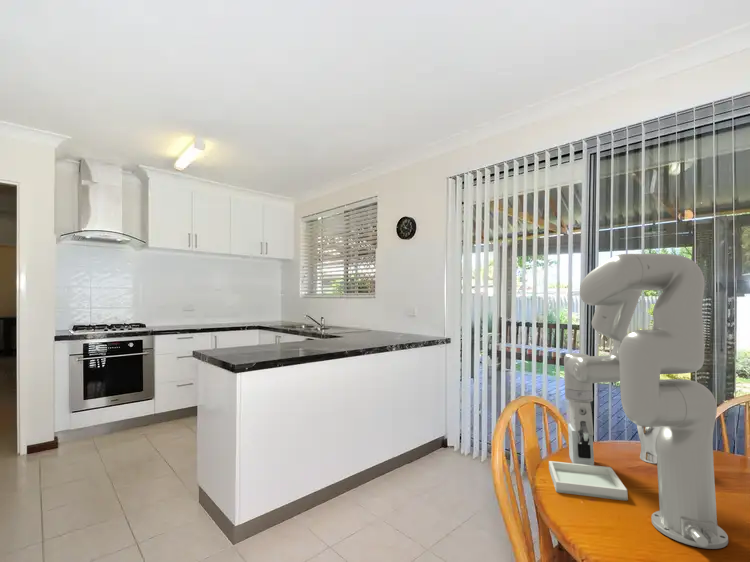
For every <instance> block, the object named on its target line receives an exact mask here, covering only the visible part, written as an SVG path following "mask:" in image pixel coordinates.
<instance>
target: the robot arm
mask: <svg viewBox="0 0 750 562" xmlns="http://www.w3.org/2000/svg"><path fill="white" fill-rule="evenodd" d="M642 291H661V293H660V295H659V296H658V298H657V299H656V301H655V304H654V306H653V311H652V317H653V325H652V326H653V327H652V329H638V330H634V331H631V332H629V333H627V332H628V328H629V326H630V324H631V321H632V318H633V316H634V313H635V310H636V307H637V305H638V303H639V300H640V297H641V294H642ZM704 295H705V277H704V274H703V271H702V269H701V268H700V266H699V265H698V264H697V263H696V262H695V261H694V260H693V259H690V258H689V257H687V256H683V255H680V254H672V253H671V254H670V253H621V254H618V255H613V256H612V257H610V258H608V259H607V260H606V261H604V262H603V263H600V265H598V266H597V267H596V268H594V269H592V270H591V271H590V272H588V274H587V275H586V276H585V277H584V278H583V279H582V281H581V284H580V286H579V296H580V298H581V301H582V302H583V303H584V304H586V305H588V306H596V307H595V311H594V314H593V316H592V320H591V326H592V328H593V330H595V331H596V332H597V333H599V334H600V335H602V336H604V337H607V338H609V339H612V340H613V341H614V343H613V347H612V350H611V353H610V354H609V355H597V356H596V355H594V356H593V355H592V356H591V355H588V354H587V353H580V352H578V353H577V352H571V353H570V352H569V353H566V354H565V355H564V357H563V367H564V368H563V373H564V397H565V399H566V400H567V401H569V402H568V405H569V406H568V407H569V408H568V409H569V411H568V412H569V423H570V424H571V426H572V428H573V429H574V431H575V434H576V435H578V440H579V443H578V456H579V458H588V459H590V458H591V450H590V440H589V435H591V436H594V424H593V413H592V412H593V411H592V405H591V402H593V401H594V397H593V396H594V394H593V384H599V383H617V382H618V383H619V389H620V400H621V406H622V409H623V412H624V414H625V415H626V418H628V420H630V421H631V423H633V424H634V425H636V426H637V425H639V426H643V427H660V430H659V432H658V435H657V441H656V448H657V464H656V466H657V468H656V469H657V483H658V484H657V487H658V503H659V506H658V507H659V510H656V511H655V512H653V513H652V514H651V517H650V518H651V524H652V525H653V526H654V528H655V529H656V530H657V531H659V533H661V534H663V535H664V536H666V537H668V538H670V539H673V540H675V541H677V542H679V543H682V544H684V545H687V546H691V547H697V548H700V549H706V550H708V549H709V550H711V549H712V550H718V549H722V548H725V547H726V546H727V547H728V544H729V536H728V534H727V532H726V531H725V530H724V529H723V528H722V527H720V526H719V525H718V520H717V518H718V516H717V514H718V513H717V501H716V499H717V498H716V486H715V483H716V482H715V468H714V467H715V466H714V465H715V464H714V448H713V447H714V443H713V442H714V439H713V438H714V429H715V423H716V418H717V412H718V411H717V410H718V408H717V402H716V399H715V396H714V395H713V393H712V391H711V390H710V389H708V388H707V387H706V386H705V385H703V384H702V383H700V382H698V381H696V380H691V379H684V378H682V379H681V378H676V379H675V378H671V379H670V378H669V379H660V377H661V375H677V374H678V375H679V374H680V375H682V374H683V375H684V374H691V373H694V372H695V373H696V372H697V371H699V370H700V369H702V367H703V365H704V362H705V337H704V319H703V303H704V302H703V301H704ZM580 425H581V427H580ZM579 431H582V432H583V433H579ZM581 436H583V437H582V438H581Z"/></svg>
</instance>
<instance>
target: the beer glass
mask: <svg viewBox="0 0 750 562" xmlns="http://www.w3.org/2000/svg"><path fill="white" fill-rule="evenodd" d="M636 427H637V428H636V429H637V433H638V437H639V442H640V452H639V453H640V455H639V459H640V460H641V461H643V462H646V463H649V464H652V465H653V464H654V465H657V448H656V441H657V435H658V432H659V430H660V427H643V426H639V425H637V424H636Z"/></svg>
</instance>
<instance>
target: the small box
mask: <svg viewBox="0 0 750 562" xmlns="http://www.w3.org/2000/svg"><path fill="white" fill-rule="evenodd" d="M580 427H581V425H580ZM567 431H568V432H567V433H568V448H569V449H568V454H569V458H570V460H571V461H570V462H571V463H574V464H584V465H594V466H595V456H594V455H595V454H594V437H593V436H594V435H593V436H591V435H589V440H590V450H591V458H590V459H588V458H579V456H578V443H579V440H578V435H576V434H575V431H574V429H573V428H572V426H571V424H570V422H569V423H567ZM579 433H583V432H582V431H579ZM582 437H583V436H581V438H582Z"/></svg>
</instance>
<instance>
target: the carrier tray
mask: <svg viewBox="0 0 750 562" xmlns="http://www.w3.org/2000/svg"><path fill="white" fill-rule="evenodd" d="M548 471H549V473H550V476H551V480H552V484H553V486H554V490H555V492H556V493H560V494H561V493H562V494H570V495H578V496H585V497H594V498H601V499H611V500H617V501H618V500H619V501H627V502H628V501H629V498H628V497H629V496H628V488H627V487H626V486H625V485H624V484H623V482H622V480H621V479H620V477H619V476H618V475H617V474H616V471H614V470H613V468H612V466H601V465H595V464H594V465H584V464H574V463H572V462H563V461H554V460H548Z"/></svg>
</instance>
